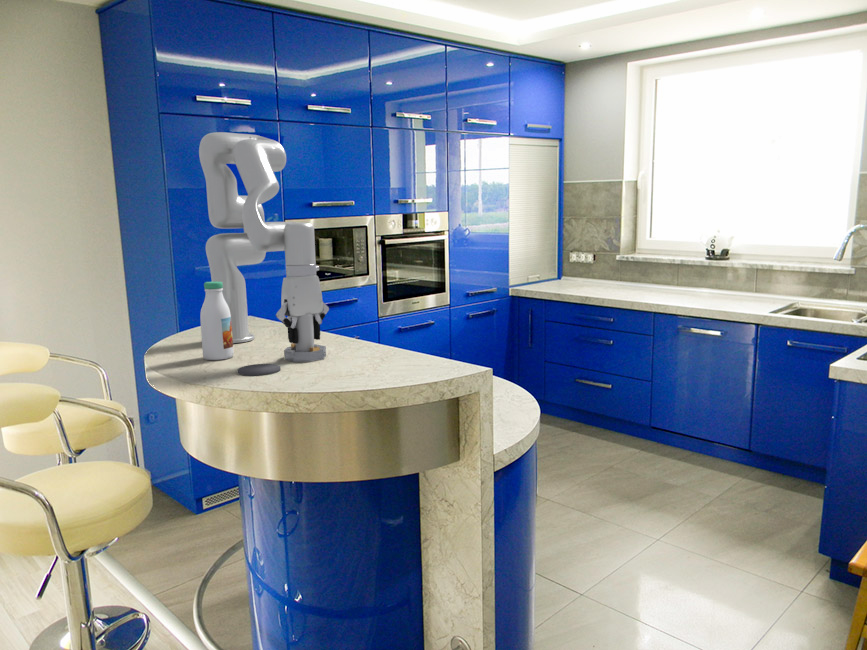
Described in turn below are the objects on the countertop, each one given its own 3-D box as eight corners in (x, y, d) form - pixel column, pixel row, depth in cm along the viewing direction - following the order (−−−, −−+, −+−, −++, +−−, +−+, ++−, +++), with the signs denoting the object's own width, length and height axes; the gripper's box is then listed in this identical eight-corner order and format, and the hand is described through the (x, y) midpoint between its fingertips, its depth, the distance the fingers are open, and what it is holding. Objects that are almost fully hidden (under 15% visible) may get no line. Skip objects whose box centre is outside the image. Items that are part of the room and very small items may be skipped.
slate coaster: (229, 371, 164) (229, 368, 164) (266, 364, 171) (266, 361, 171) (251, 377, 157) (251, 375, 157) (288, 370, 164) (288, 367, 164)
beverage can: (310, 360, 175) (308, 313, 173) (293, 359, 176) (290, 313, 174) (317, 356, 180) (315, 310, 178) (300, 355, 181) (298, 310, 179)
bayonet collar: (278, 358, 178) (277, 345, 177) (310, 352, 185) (309, 340, 184) (300, 363, 171) (299, 350, 170) (332, 357, 178) (332, 344, 177)
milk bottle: (214, 362, 175) (209, 284, 171) (197, 358, 179) (191, 282, 176) (239, 356, 181) (234, 281, 177) (222, 353, 185) (216, 280, 182)
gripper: (320, 268, 183) (323, 334, 186) (263, 273, 171) (267, 344, 174) (337, 269, 177) (340, 337, 180) (279, 275, 166) (284, 347, 168)
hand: (304, 340), depth 177 cm, fingers open, 6 cm apart
